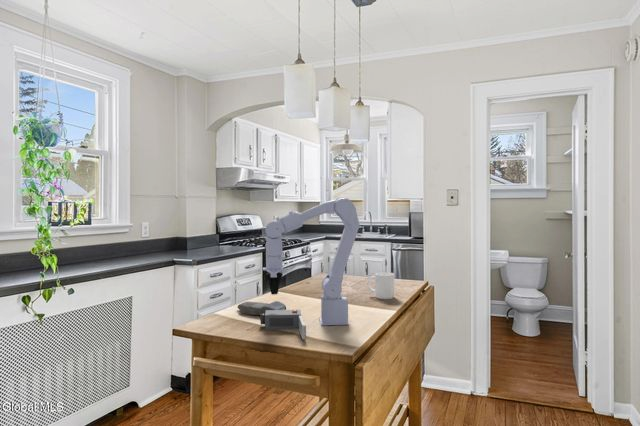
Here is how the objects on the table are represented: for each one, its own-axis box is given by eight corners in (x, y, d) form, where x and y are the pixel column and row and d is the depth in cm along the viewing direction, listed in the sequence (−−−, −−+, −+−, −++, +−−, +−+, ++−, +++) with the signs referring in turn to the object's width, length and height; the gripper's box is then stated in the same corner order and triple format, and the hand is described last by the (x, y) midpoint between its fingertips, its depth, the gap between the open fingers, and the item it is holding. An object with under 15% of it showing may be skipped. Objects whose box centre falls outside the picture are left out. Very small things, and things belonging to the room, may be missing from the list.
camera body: (300, 323, 152) (300, 307, 151) (300, 329, 146) (300, 312, 145) (261, 324, 151) (261, 308, 150) (260, 330, 145) (260, 313, 144)
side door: (298, 328, 145) (298, 315, 145) (302, 328, 145) (302, 315, 145) (302, 339, 134) (302, 325, 134) (306, 339, 135) (306, 325, 134)
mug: (364, 297, 189) (364, 274, 188) (370, 293, 196) (370, 270, 196) (391, 300, 184) (391, 276, 183) (396, 296, 191) (396, 272, 191)
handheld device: (245, 307, 174) (245, 296, 173) (288, 314, 165) (288, 302, 164) (229, 313, 165) (229, 301, 165) (274, 321, 156) (274, 308, 156)
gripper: (263, 252, 158) (264, 289, 158) (261, 258, 143) (261, 299, 144) (283, 252, 158) (283, 289, 159) (282, 258, 144) (283, 299, 144)
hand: (274, 294), depth 151 cm, fingers closed
